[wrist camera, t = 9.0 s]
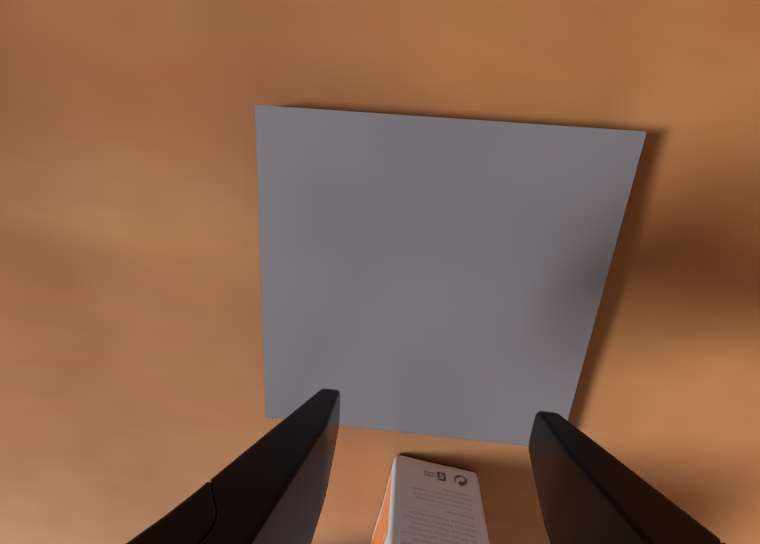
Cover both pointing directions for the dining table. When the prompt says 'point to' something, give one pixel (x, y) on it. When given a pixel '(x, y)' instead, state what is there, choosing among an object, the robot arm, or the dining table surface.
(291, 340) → the slate tile
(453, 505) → the skincare box
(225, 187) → the dining table surface
